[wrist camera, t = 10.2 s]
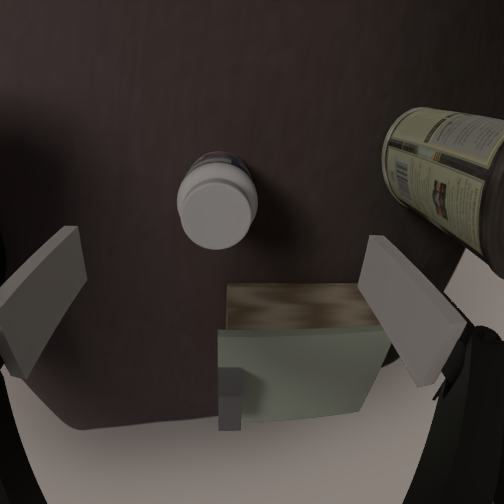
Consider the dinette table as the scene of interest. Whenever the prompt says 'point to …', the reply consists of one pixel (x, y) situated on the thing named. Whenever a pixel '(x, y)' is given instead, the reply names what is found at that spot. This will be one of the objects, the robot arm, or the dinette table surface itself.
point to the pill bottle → (217, 201)
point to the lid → (296, 372)
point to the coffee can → (451, 176)
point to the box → (296, 306)
